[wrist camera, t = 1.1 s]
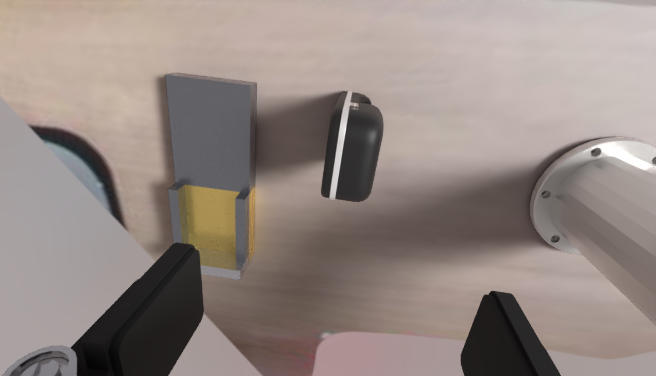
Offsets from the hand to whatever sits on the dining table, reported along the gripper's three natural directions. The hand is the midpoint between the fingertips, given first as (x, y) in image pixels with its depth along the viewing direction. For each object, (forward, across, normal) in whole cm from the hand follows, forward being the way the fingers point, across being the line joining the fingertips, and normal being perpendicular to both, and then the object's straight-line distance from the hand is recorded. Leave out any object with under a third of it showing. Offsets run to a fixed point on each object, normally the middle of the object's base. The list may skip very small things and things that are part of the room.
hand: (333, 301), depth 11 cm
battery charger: (+24, 0, 0) cm, 24 cm away
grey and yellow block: (+24, +14, +7) cm, 29 cm away
